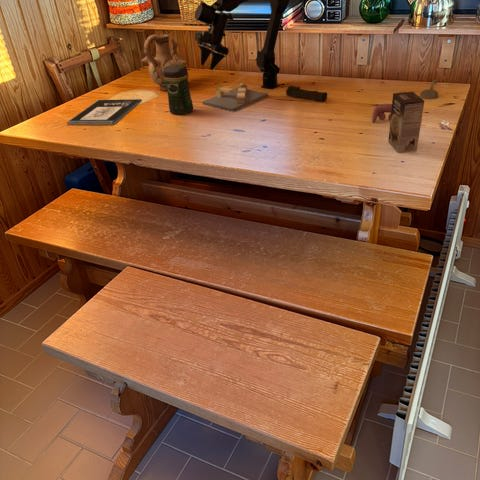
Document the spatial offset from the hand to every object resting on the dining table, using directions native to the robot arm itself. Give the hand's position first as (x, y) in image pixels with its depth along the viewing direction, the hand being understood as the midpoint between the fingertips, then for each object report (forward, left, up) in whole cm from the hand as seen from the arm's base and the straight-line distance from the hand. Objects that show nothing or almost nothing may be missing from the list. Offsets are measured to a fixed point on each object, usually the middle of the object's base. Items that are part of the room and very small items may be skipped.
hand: (206, 67), depth 192 cm
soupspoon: (-55, +73, -15) cm, 93 cm away
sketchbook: (+34, -31, -15) cm, 48 cm away
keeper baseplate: (-6, +9, -14) cm, 18 cm away
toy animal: (-17, +74, -15) cm, 78 cm away
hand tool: (-22, +34, -15) cm, 43 cm away
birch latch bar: (-9, +11, -13) cm, 19 cm away
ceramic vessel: (-4, -32, -15) cm, 35 cm away
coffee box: (0, +89, -15) cm, 90 cm away
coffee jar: (+16, -1, -15) cm, 21 cm away
